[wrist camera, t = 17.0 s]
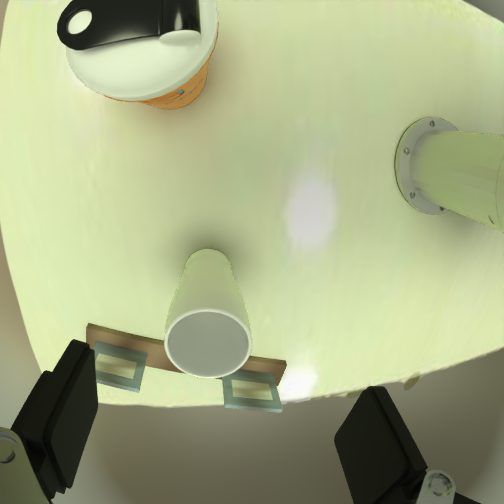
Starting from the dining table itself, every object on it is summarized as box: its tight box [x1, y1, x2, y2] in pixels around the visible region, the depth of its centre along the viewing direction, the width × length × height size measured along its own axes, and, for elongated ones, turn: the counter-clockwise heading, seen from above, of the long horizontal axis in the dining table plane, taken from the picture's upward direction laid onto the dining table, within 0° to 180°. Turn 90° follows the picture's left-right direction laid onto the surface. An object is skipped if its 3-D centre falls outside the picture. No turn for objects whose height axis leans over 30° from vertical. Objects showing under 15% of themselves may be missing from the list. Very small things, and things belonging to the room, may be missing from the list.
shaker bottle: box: [57, 0, 218, 109], centre depth 20 cm, size 9×9×20 cm
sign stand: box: [86, 324, 287, 412], centre depth 37 cm, size 27×4×8 cm, turn 75°
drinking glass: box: [164, 249, 252, 379], centre depth 30 cm, size 7×7×15 cm
